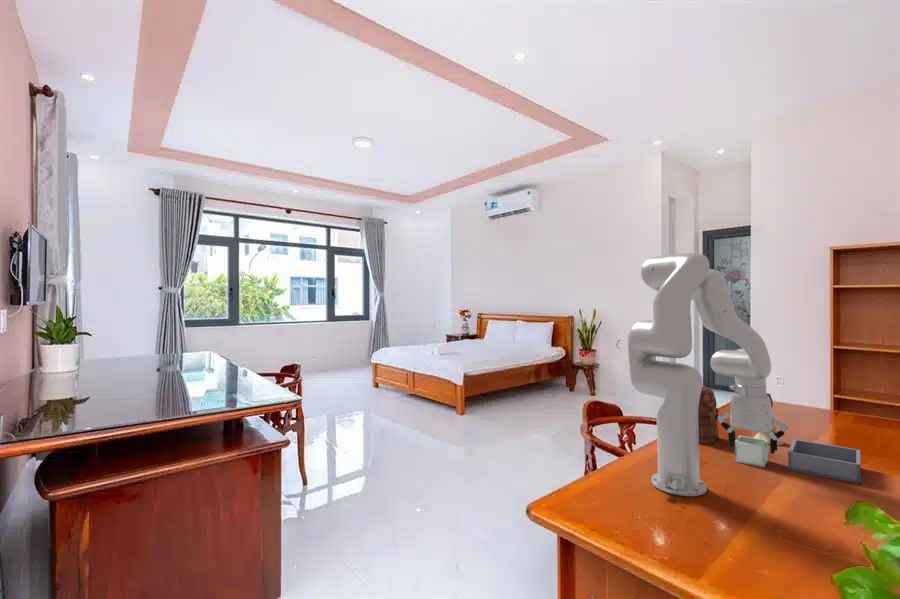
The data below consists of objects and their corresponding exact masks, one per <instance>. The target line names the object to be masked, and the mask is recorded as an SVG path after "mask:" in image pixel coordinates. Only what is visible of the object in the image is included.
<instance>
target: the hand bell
mask: <svg viewBox="0 0 900 599" xmlns="http://www.w3.org/2000/svg"><path fill="white" fill-rule="evenodd" d="M766 395H767V396H768V397H769V398H770V402H771V407H772V408H773V405H774V403H773V398H772V394H771V393H767V392H766ZM772 429H773V430H774V431H775V432H776V433H777V432H778V431H777V425H774V424H773V428H772ZM752 438H757V439H763V440H768V446H770V439H771V437H770V436H769V435H768V434H767V433H761V432H756V434H755V435H754V436H753V437H752ZM784 444H785V443H784V442H783V440H782V439H781V437H780V438H778V439H777V446H782V445H784Z"/></svg>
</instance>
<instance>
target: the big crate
mask: <svg viewBox="0 0 900 599" xmlns="http://www.w3.org/2000/svg"><path fill="white" fill-rule="evenodd" d="M787 458H788V459H787V460H788V461H787V462H788V468H787V469H788V471H791V470H792V472H796V471H797V472H796V473H800V474H801V473H802V474H807V475H812V476H816V477H822V478H827V479H831V480H835V481H841V482H842V481H843V482H847V483H852V484H855V485H860V484H861V483H862V480H861V477H862V476H861V474H862V472H861V470H862V469H861V449H858V448H852V447H851V448H850V447H846V446H845V447H844V446H839V445H838V446H837V445H834V444H833V445H832V444H827V443H821V442H814V441H807V440H802V439H796V438H793V439H792V442H791V444H790V446H789V449H788V452H787ZM861 485H862V484H861Z"/></svg>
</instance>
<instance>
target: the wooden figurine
mask: <svg viewBox="0 0 900 599" xmlns="http://www.w3.org/2000/svg"><path fill="white" fill-rule="evenodd" d="M718 416H719V408H718V407H717V399H716V396H715V392H714V390H713V389H711V388H710V387H707V386H706V385H705V386H704V385H702V390H701V395H700V400H699V409H698V432H699V444H713V443H714V442H716V441H717V440H718V438H719V437H720V436H719V427H718V422H717V421H719V420H718V418H717V417H718Z"/></svg>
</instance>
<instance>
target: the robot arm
mask: <svg viewBox="0 0 900 599" xmlns="http://www.w3.org/2000/svg"><path fill="white" fill-rule="evenodd" d="M640 268H641V269H640V275H641V280H642V281H643V282H644V284H646V285H647V287H649V288H650V289H652V290H654V291H656V292H657V293H656V294H655V297H654V299H653V304H652V305H653V306H652V310H653V314H652V315H653V316H652V317H653V320H651V319H649V320H638V321H637V322H635V323H634V324H633V325H632V326H631V328H630V330H629V332H628V337H627V350H628V353H627V354H628V364H629V375H630V382H631V385H632V387H633V388H634V389H635V390H636V391H637V392H638V393H641V394H644V395H649V396H653V397H658V398H661V399H664V402H663V403H662V405H661V406H660V407H659V409H658V410H657V413H656V445H657V446H656V450H657V454H656V455H657V472H656V473H654V474H652V475H651V478H650V479H651V480H650V481H651V484H652V485H653V486H654V487H655V488H657V489H658V490H660V491H662V492H666V493H667V494H670V495H675V496H680V497H681V496H682V497H699V496H702V495H705V494H706V493H707V492H708V491H707V490H708V489H707V484H706V483H705V482H704V481H703V480H701V479H700V447H699V446H700V443H699V432H698V409H699V400H700V395H701V390H702V386H703V377H702V375H701V374H700V372H699V371H698V370H697V369H696V368H694V367H693V366H691V365H688V364H684V363H680V362H673V361H671V362H670V361H662V360H657V358H658V357H660V358H667V359H683V358H686V357H688V356H689V355H690V354H691V352H692V349H693V332H692V331H693V330H692V317H691V303H692V300H693V301H694V304H695V306H696V309H697V312H698V314H699V318H700V320H701V323H702V325H703V327H704V328H705V329H707V330H708V331H711V332H713V333H715V334H717V335H719V336H722V337H724V338H726V339H728V340H731V342H734V343H736V344H737V345H738V346H740V347H741V348H738V349H736V350H735V349H733V350H732V349H731V350H730V349H720V350H718V351H716V352H714V353H713V354H712V356H711V358H710V361H709V364H710V367H711V369H712V371H714V373H716V374H718V375H720V376H725V377H732V378H734V382H735V383H734V384H730V385H729V390H732V391H734V393H732V395H731V400H730V408H729V409H730V411H729V412H724V413H722V414H718V417H717V418H718V420H717V421H718V422H719V423H720V425H721V427H723V428H724V429H725V431H726V432H727V434H728V435H727V436H728V437H727V438H728V443H730V447H732V448H733V447H735V440H736V439H737V437H736V431H735V430H736V429H737V430H742V431H748V432H754V433H758V432H761V433H767V434H768V435H769V436H770V437H771V439H770V445H769V448H770V449H769V450H770V451H769V452H770V454H772V455H774V454H775V452H776V451H777V452H778V445H777V439H778V438H780V439H781V437H784V435H785V434H786V433H787V431H788V430H789V428H790V425H789V424H787V423H785V422H783V421H782V420H780V419H777V418H776V417H774V416H773V415H774V414H773V407H771V402H770V398H769V397H768V396H767V395H766V393H767V380H766V379H767V378H768V377H769V376H770V374H771V373H772V372H771V371H772V362H771V358H770V354H769V351H768V347H767V345H766V343H765V341H764V339H763V338H762V336H761V335H760V334H759V333H758V332H757V331H756V330H755V329H753V328H752V327H751V325H749V323H747V322H745V321H744V320H742V319H741V318H740V317H738V314H737V313H736V309H735V306H734V303H733V301H732V300H733V299H732V297H731V294H730V291H729V289H728V284H727V282H726V279H725V276H724V275H723V274H722V272H720V271H719V270H716V269H712V268H710V261H709V259H708V257H707V256H706V255H704V254H702V253H697V252H689V253H687V252H686V253H677V254H676V253H675V254H669V255H659V256H653V257H650V258H648V259H646V260H645V261H644V262H643V264H642V265H641V267H640ZM728 418H729V421H730V422H729V424H728V422H726V420H725V419H728ZM774 424H775V426H778V427H780V430H778V431H777V433H776V432H775V431H774V430H773V429H772V428H773V425H774Z"/></svg>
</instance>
